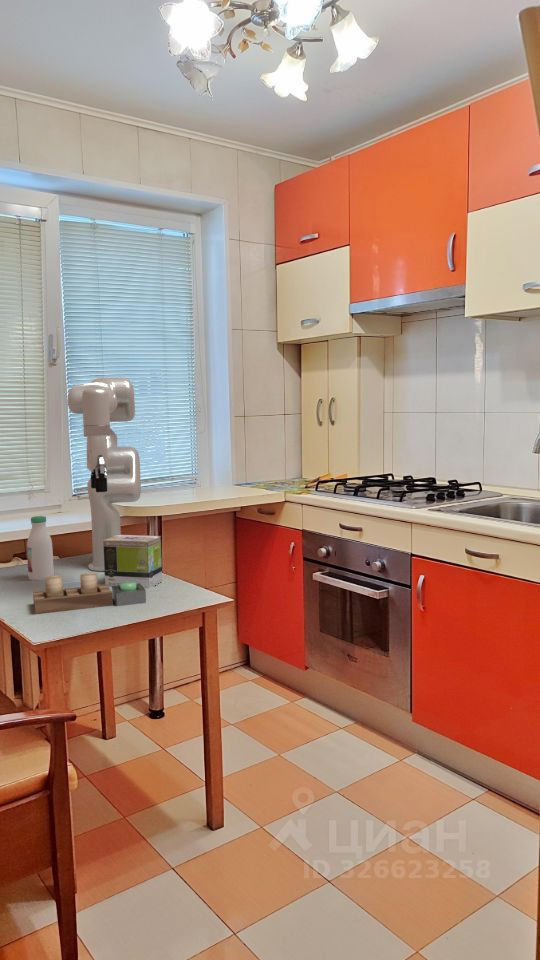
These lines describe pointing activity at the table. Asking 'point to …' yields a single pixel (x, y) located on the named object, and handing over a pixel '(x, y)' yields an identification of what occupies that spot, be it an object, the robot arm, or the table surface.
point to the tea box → (133, 560)
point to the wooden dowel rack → (72, 600)
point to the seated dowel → (88, 583)
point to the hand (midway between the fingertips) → (99, 489)
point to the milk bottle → (39, 550)
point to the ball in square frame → (128, 595)
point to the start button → (128, 586)
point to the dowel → (54, 586)
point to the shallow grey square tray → (72, 584)
